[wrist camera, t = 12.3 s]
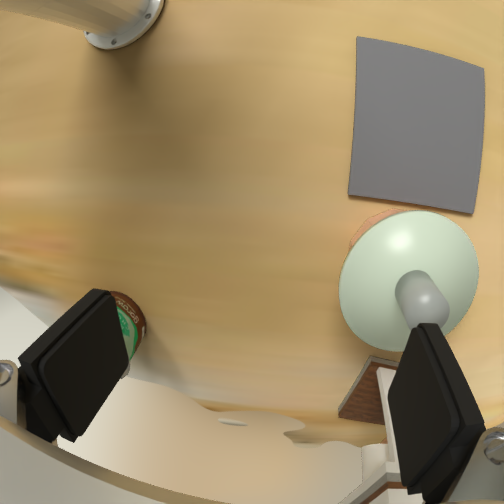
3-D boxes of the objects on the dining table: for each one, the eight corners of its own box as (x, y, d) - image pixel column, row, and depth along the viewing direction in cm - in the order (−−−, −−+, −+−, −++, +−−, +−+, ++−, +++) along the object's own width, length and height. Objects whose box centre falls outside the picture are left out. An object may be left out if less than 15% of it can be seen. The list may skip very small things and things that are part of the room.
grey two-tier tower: (369, 355, 40) (387, 615, 8) (430, 368, 39) (481, 588, 7) (338, 407, 44) (324, 621, 12) (394, 417, 43) (409, 611, 11)
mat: (356, 37, 27) (357, 36, 27) (481, 69, 25) (484, 68, 24) (347, 193, 33) (348, 194, 33) (471, 212, 31) (473, 214, 30)
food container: (167, 318, 44) (135, 360, 35) (151, 342, 46) (121, 383, 37) (102, 267, 43) (59, 297, 34) (91, 295, 46) (52, 326, 36)
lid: (350, 199, 27) (360, 215, 21) (489, 221, 25) (520, 240, 19) (327, 340, 32) (327, 378, 27) (449, 348, 30) (466, 381, 24)
